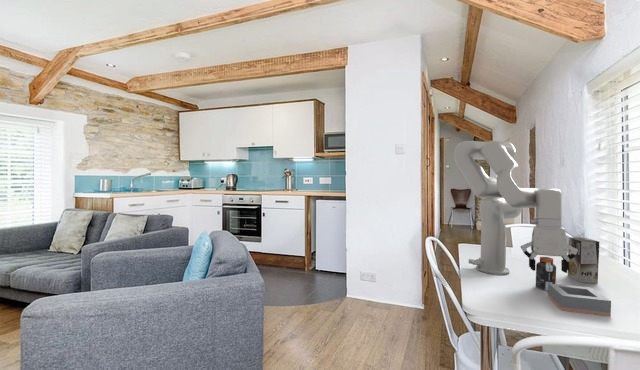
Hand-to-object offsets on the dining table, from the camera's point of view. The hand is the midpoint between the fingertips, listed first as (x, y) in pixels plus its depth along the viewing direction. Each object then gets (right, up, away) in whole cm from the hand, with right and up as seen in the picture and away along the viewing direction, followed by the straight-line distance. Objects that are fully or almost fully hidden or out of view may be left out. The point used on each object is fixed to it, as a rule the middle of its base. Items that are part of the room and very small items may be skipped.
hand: (548, 270), depth 116 cm
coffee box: (+22, -7, +13) cm, 27 cm away
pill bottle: (0, -7, +1) cm, 7 cm away
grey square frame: (-1, -7, -14) cm, 16 cm away
